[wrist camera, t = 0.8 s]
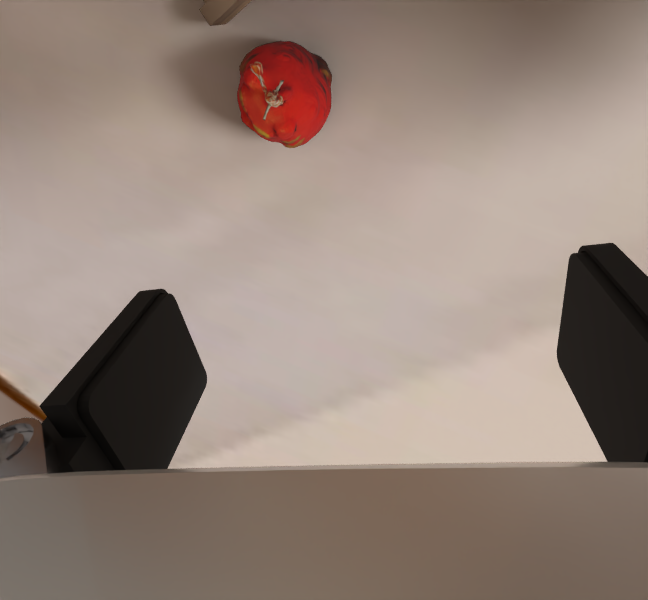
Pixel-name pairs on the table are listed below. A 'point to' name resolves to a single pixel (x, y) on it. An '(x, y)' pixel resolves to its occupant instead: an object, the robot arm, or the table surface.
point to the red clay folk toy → (284, 93)
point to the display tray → (221, 10)
